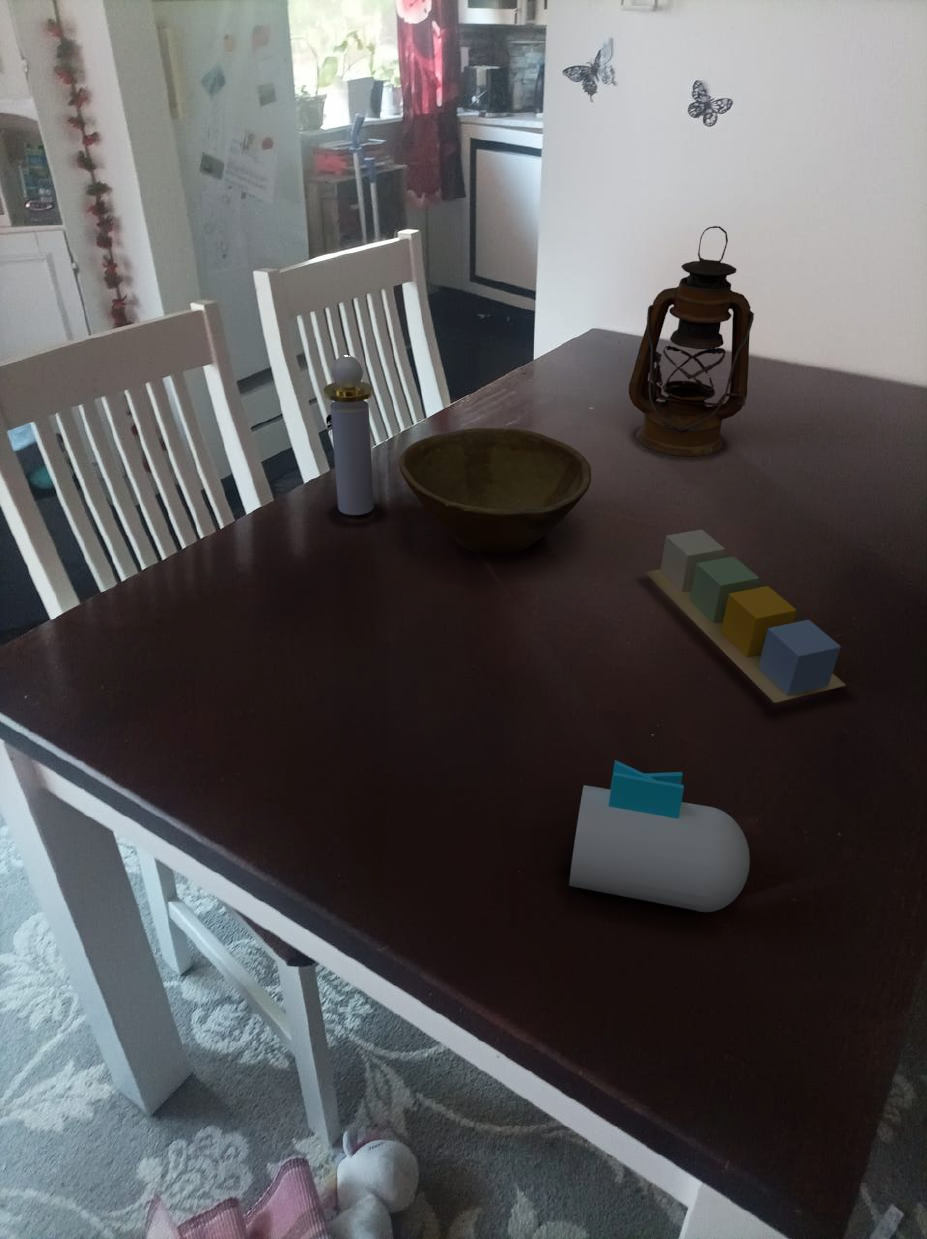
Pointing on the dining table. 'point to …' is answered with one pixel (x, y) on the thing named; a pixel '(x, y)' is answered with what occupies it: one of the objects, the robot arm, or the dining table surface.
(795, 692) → the blue block
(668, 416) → the lantern
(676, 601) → the board
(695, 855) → the grey rounded block
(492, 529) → the bowl
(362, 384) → the perfume bottle
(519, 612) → the dining table surface
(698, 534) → the cream block
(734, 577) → the sage block
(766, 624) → the mustard block
